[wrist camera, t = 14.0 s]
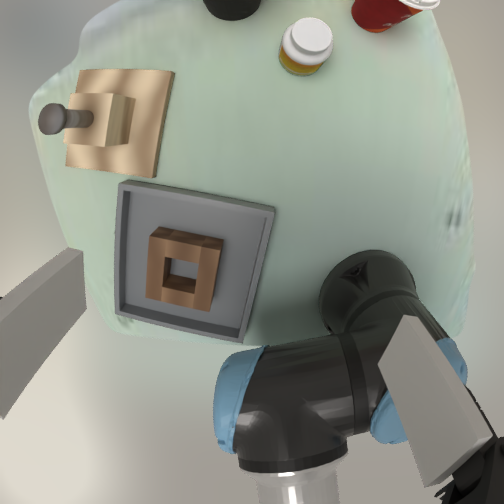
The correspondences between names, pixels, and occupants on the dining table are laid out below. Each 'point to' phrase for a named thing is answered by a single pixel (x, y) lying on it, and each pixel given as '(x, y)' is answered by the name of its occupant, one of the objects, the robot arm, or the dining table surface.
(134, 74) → the stake stand
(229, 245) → the tray
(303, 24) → the supplement bottle
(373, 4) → the paper cup
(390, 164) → the dining table surface
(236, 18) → the travel mug
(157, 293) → the collar
